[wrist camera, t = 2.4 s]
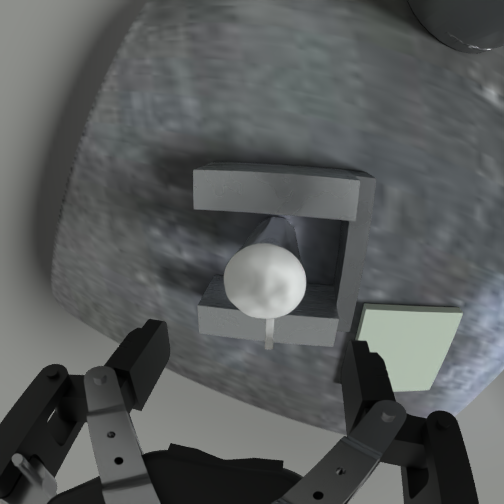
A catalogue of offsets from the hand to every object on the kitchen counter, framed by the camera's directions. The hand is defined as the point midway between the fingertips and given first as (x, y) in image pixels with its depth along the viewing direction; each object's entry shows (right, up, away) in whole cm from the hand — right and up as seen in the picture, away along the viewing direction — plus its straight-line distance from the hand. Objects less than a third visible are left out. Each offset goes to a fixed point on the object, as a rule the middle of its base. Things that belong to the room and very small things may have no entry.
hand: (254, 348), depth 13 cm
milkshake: (+2, +5, +12) cm, 13 cm away
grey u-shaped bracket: (+2, +5, +12) cm, 13 cm away
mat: (+14, -5, +14) cm, 21 cm away
